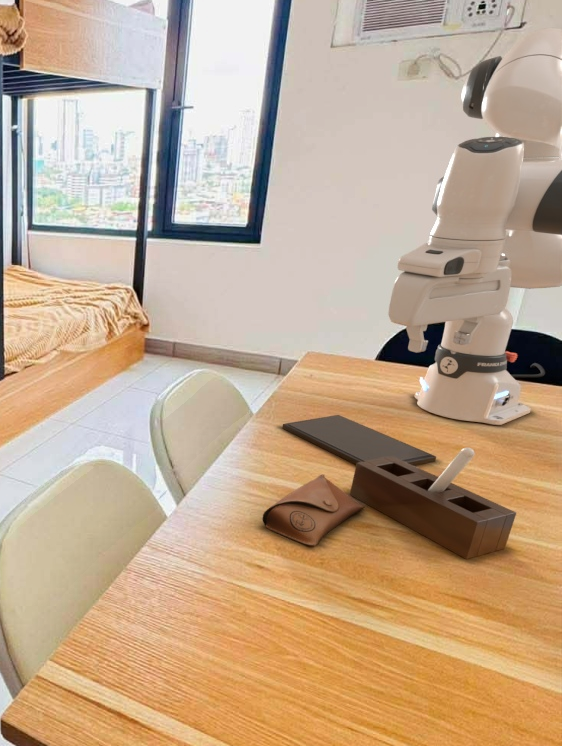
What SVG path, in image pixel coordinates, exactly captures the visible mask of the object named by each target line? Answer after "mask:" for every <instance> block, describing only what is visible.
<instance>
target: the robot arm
mask: <svg viewBox="0 0 562 746" xmlns="http://www.w3.org/2000/svg"><path fill="white" fill-rule="evenodd" d="M460 96H461V97H460V98H461V105H462V110H463V112H464V113H465V114H466V116H467V117H469V118H471V119H479V120H483V122H484V124H485V125H486V126H487V127H488V128H489V130H491V131H492V132H494V133H495V135H494V136H485V137H478V138H470V139H467V140H464V141H463V142H461V143H459V144H457V146H456V147H455V148H454V150H453V152H452V155H451V157H450V160H449V163H448V165H447V167H446V170H445V173H444V175H443V177H441V178H439V180H438V182H437V185H436V190H435V194H434V197H433V198H434V199H433V203H432V208H431V210H432V212H433V213H434V214H435V216H436V220H435V223H434V225H433V227H432V228H431V230H430V233H429V236H428V240H427V241H426V242H424V243H423V244H421V245H420V246H418V247H416V248H415V249H414V250H411V251H409V252H407V253H405V254H403V255H402V256H400V257H399V259H398V263H397V270H398V271H401V273H399V275H398V276H397V277H396V279H395V281H394V284H393V287H392V292H391V296H390V300H389V306H388V312H387V315H388V319H389V320H390V322H391V323H393V324H395V325H396V324H397V325H399V326H400V325H401V326H403V327H405V330H406V332H407V337H408V339H409V342H408V346H407V350H408V351H409V352H413V353H421V352H425V351H426V350H427V346H428V344H429V340H427V339H425V337H424V335H425V334H424V332H426V331H427V328H428V325H433V324H439V323H444V329H443V333H442V339H441V342H440V343H439V344H438V346H437V349H436V350H435V355H434V361H435V362H434V363H433V364H430V365H429V366H428V369H427V371H426V374H425V376H424V378H423V376H420V377H419V383H420V385H421V387H420V391H416V392H415V393H414V396H413V397H414V398H415V400H417V402H416V404H417V406H418V407H419V408H421V409H422V410H424V411H426V412H429V413H431V414H433V415H437V416H440V417H444V418H449V419H452V420H457V421H465V422H477V423H484V424H488V425H494V426H502V425H504V424H506V423H509V422H511V421H514V420H516V419H519V418H521V417H523V416H525V415H528V414H530V413H531V410H532V409H531V407H529V406H528V405H526V404H524V403H522V402H520V398H521V394H522V385H521V384H520V383H519V382H518V381H517V380H516V379H537V378H542V377H544V376H545V374H546V371H545V369H544V367H543V366H542V365H541V364H539V363H536V362H534V363H532V364H531V365H530V368H532V369H534V368H537V369H538V370H539V371H540V373H538V374H537V373H536V374H510V372H509V371H508V370H507V368H508V367H507V366H508V362H510V363H515V362H516V360H517V358H518V353H516V352H510V351H508V350H506V349H507V347H508V343H509V339H510V335H511V332H512V329H513V325H514V317H513V315H512V313H511V312H510V310H508V309H507V308H506V307H507V303H508V300H509V296H510V291H511V288H516V289H529V290H530V289H531V290H533V289H548V288H549V289H550V288H560V287H561V286H562V28H559V27H546V28H540V29H537V30H534V31H532V32H529V33H527V34H526V35H524V36H522V37H520V39H518V40H517V41H516V42H515V43H514V44H513V45H512V46H511V48H509V49H508V50H507V52H506V53H505V55H504V56H501V55H499V56H495V57H491V58H488V59H485V60H482V61H480V62H479V63H478V64H477V65H476V66H474V67H473V68H472V69H471V71H470V73H469V74H468V76H467V77H466V79H465V81H464V84H463V86H462V89H461V95H460Z"/></svg>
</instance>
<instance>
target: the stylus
mask: <svg viewBox="0 0 562 746" xmlns="http://www.w3.org/2000/svg"><path fill="white" fill-rule="evenodd" d="M475 453H476V452H475V450H474V449H473V448H471V447H464V448H462V449H461V450H460V451H459V452H458V454H457V455H456V456H455V457H454V458H453V460H451V462H450V463H449V464H448V465H447V467H446V468H445V469H444V470H443V471H442V473H441V474H440V475H439V476H437V477H438V479H437V480H436V481H435V482H434V483H433V485H432V486H431V487H430V488H429V489H428V490H427V491H429V492H431V493H433V494H435V493H439V492H443V491H444V490H445V489H446V488H447V487H448V485H449V484H450V483H453V481H455V479H456V478H457V476H458V475H459V474H460V473H461V472H462V471H463V469H464V468H466V466H467V465H468V464H469V463H470V461H471V460H472V459H473V458H474V457H475V455H476V454H475Z"/></svg>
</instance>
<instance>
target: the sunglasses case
mask: <svg viewBox="0 0 562 746" xmlns="http://www.w3.org/2000/svg"><path fill="white" fill-rule="evenodd" d="M365 508H366V506H365V505H363V504H361V503H359V502H357V501H356V500H355V498H352V496H351V495H350V494H347V493H346V492H345V491H343V490H342V489H341V488H340V487H338V486H337V485H336V484H334V483H333V482H331V480H329V479H327V478H326V477H325V474H320V475H319V476H317V477H316V478H314V479H312V480H310V481H309V482H306V483H305V484H303V485H301V486H300V487H298V488H297V489H295V490H293V491H292V492H290V493H289V494H287V495H285V496H284V497H282V498H281V499H280V500H278V501H276V503H274V504H273V505H272V506H270V507H268V508H267V509H266V510H265V511H264V512H263V514H262V522H263V524H264V526H265V528H266V529H268V530H269V531H272V532H273V533H276V534H278V535H280V536H282V537H284V538H287V539H289V540H291V541H294V542H297V543H300V544H302V545H306V546H309V547H310V546H311V547H316V546H318V544H319V543H320V542H321V540H322V539H323V538H324V537H325V536H326V535H328V533H330V532H331V531H332V530H334V529H335V528H336V527H338V526H339V525H340V524H342V523H344V522H345V521H346V520H349V518H351V517H353V516H355V515H356V514H357V513H359V512H360V511H362V510H364V509H365Z"/></svg>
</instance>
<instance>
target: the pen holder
mask: <svg viewBox="0 0 562 746" xmlns="http://www.w3.org/2000/svg"><path fill="white" fill-rule="evenodd" d="M438 477H439V476H438V475H435V474H433V473H431V472H429V471H427V470H424V469H422V468H419V467H417V466H416V465H414V466H413V465H411V464H409V463H406V462H404V461H402V460H400V459H398V458H395V457H393V456H390V457H384V458H379V459H374V460H369V461H364V462H359V463H357V464H356V465H355V468H354V473H353V479H352V481H351V482H352V483H351V486H350V492H349V496H350V497H353V498H354V499H356V500H358V501H360V502H361V503H364V504H366V505H368V506H369V507H371V508H373V509H375V510H376V511H378V512H380V513H382V514H384V515H385V516H387V517H389V518H391V519H393V520H394V521H397V522H399V523H400V524H402V525H404V526H405V527H407V528H409V529H411V530H412V531H414V532H416V533H418V534H420V535H422V536H423V537H425V538H427V539H429V540H431V541H432V542H434V543H436V544H438V545H439V546H442V547H443V548H445V549H446V550H449V551H450V552H452V553H454V554H456V555H457V556H460V557H462V558H463V559H465V560H468V559H472V558H475V557H479V556H482V555H483V556H484V555H486V554H489V553H494V552H497V551H501V550H504V549H506V547H507V544H508V540H509V537H510V534H511V531H512V528H513V525H514V522H515V519H516V516H517V511H514V510H512V509H510V508H508V507H505V506H503V505H501V504H499V503H496V502H495V501H492V500H491V499H488V498H485V497H483V496H481V495H479V494H478V493H474V492H472V491H471V490H469V489H466V488H463V487H462V486H459V485H457V484H455V483H453V482H451V483H450V484H449V485H448V487H447V488H446V489H445V490H444V491H443V492H439V493H435V494H433V493H431V492H429V491H427V490H428V489H429V488H430V487H431V486H432V485H433V483H434V482H435V481H436V480H437V479H438Z"/></svg>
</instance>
